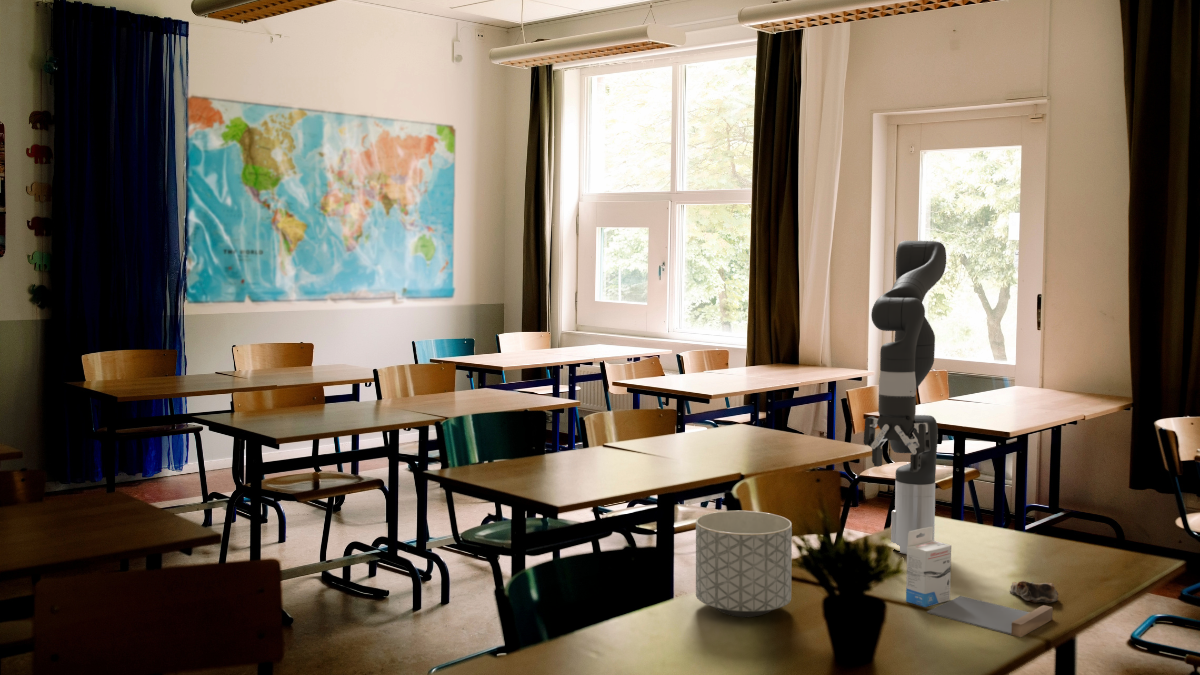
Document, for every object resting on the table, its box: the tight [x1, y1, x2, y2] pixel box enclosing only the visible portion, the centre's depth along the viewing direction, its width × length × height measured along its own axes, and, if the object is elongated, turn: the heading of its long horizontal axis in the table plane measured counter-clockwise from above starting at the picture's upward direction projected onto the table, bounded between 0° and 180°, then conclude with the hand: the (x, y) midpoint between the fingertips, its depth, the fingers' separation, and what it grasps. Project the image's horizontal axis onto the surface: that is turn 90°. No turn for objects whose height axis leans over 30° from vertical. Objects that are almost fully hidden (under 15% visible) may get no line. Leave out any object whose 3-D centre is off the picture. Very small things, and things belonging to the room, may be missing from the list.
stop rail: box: [1010, 604, 1054, 638], centre depth 193 cm, size 2×14×2 cm, turn 134°
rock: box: [1009, 580, 1059, 604], centre depth 210 cm, size 9×6×10 cm
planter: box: [695, 510, 793, 618], centre depth 202 cm, size 19×19×18 cm
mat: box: [926, 595, 1031, 636], centre depth 200 cm, size 17×14×1 cm
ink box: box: [905, 526, 952, 608], centre depth 208 cm, size 8×5×15 cm, turn 125°
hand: (896, 468), depth 213 cm, fingers open, 8 cm apart
